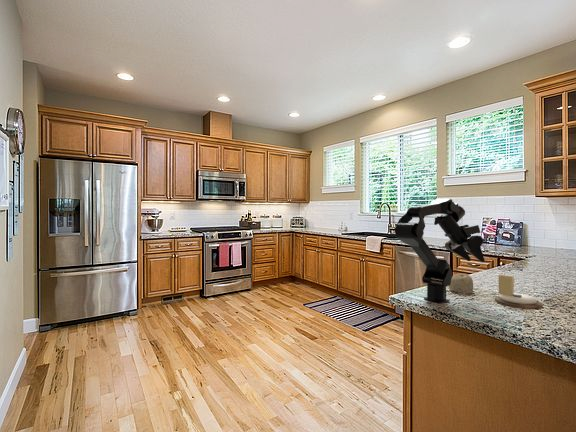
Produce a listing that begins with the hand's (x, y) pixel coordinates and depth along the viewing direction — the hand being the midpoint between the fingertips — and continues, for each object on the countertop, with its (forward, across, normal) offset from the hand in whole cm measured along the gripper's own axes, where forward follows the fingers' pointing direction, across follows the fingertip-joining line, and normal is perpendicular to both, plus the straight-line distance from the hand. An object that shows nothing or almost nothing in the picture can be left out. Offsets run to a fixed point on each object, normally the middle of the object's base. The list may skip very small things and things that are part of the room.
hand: (476, 261), depth 118 cm
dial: (+18, -4, -2) cm, 18 cm away
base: (+19, -4, -1) cm, 19 cm away
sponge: (+11, +14, +7) cm, 19 cm away
